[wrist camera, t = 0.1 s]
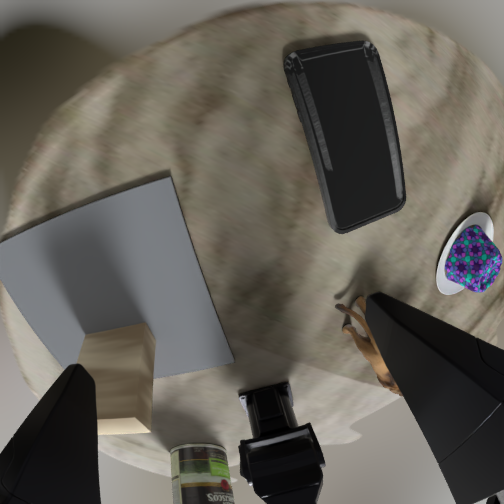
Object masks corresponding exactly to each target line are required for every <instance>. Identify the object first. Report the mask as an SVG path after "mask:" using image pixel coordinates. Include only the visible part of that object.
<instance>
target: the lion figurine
mask: <svg viewBox="0 0 504 504" xmlns="http://www.w3.org/2000/svg"><path fill="white" fill-rule="evenodd" d="M355 304H356V306H357V307H360V309H361V310H362V312H363V313H364V314H365V309H366V303H365V299H364V298H363V297H362V296H360V297H358V298H357V299H356V300H355ZM335 308H336V309H338V310H340V311H341V312H343V313H347V314H349V315H351V316H352V317H354V318H355V319H356V320H357V321H358V322H359V323H360V324H361V325H362V327H363V328H364V329H365V331H366V332H367V334H368V336H369V337H370V339H371V340H370V339H368V338H365V337H363V336H361V335H360V334H358V333H357V331H356V328H355V327H353V326H351V324H348V325H345V326H344V327H343V333H346V334H348V333H350V334H351V335H352V337H353V339H354V341H355V343H356V345H357V347H358V349H359V350H360V351H361V352H362V353H363V355H364V357H365V358H366V359H367V360H368V361H369V362H370V363H371V365H372V367H373V369H374V371H375V372H376V374H377V378H378V380H379V382H380V383H381V384H382V385H383V387H385V388H388V389H389V390H390V391H392V392H393V393H395V394H399V396H403V395H402V393H401V391H400V390H399V388H398V386H397V384H396V382H395V381H394V379H393V377H392V375H391V374H390V372H389V370H388V368H387V367H386V365H385V363H384V361H383V359H382V356H381V354H380V352H379V350H378V347H377V345H376V343H375V340H374V338H373V336H372V334H371V332H370V329H369V327H368V325H367V323H366V321H365V320H364V319H363V318H362V317H361V316H360V315H358V314H357V313H356V312H354V311H352V310H350V309H348V308H347V307H345V306H344V305H343V304H336V305H335Z"/></svg>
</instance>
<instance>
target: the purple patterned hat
mask: <svg viewBox="0 0 504 504" xmlns="http://www.w3.org/2000/svg"><path fill="white" fill-rule="evenodd" d="M475 224H476V225H475ZM470 225H475V226H474V227H473V228H470V227H468V226H470ZM478 225H479V226H480V227H481V228H482V229H481V228H480V227H479V226H478ZM467 227H468V228H467ZM465 228H466V229H465ZM464 229H465V230H464ZM463 230H464V231H463ZM462 231H463V232H462ZM461 232H462V234H461V236H460V238H458V239H457V240H455V239H456V238H457V237H458V235H459V234H460V233H461ZM454 241H455V242H454ZM453 242H454V243H453ZM451 246H452V247H451ZM450 248H451V249H450ZM449 250H450V256H449V257H448V259H447V260H446V257H447V254H448V252H449ZM445 261H446V264H445ZM501 264H502V256H501V254H500V251H499V249H498V248H497V247H496V246H495V244H494V243H493V223H492V220H491V218H490V217H489V215H487V214H486V213H483V212H477V213H475V214H472V215H471V216H469V217H468V218H466V219H465V220H464V221H463V222H462V223H461V224H460V225H459V226H458V227H457V229H456V230H455V231H454V233H453V234H452V236H451V237H450V239H449V241H448V242H447V244H446V246H445V248H444V250H443V253H442V255H441V258H440V261H439V264H438V269H437V276H436V281H437V286H438V289H439V290H440V292H442V293H443V294H446V295H451V294H455V293H457V292H459V291H461V290H462V289H464V288H467V289H469V290H471V291H474V292H484V291H485V290H486V289H487V288H488V287H489V286H491V285H492V284H493V282H494V280H495V278H496V277H497V275H498V274H499V271H500V266H501ZM444 267H445V269H446V270H447V271H448V272H447V278H446V277H445V272H444ZM447 279H449V280H451V281H449V280H447ZM452 281H453V282H452Z"/></svg>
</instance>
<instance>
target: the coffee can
mask: <svg viewBox="0 0 504 504" xmlns="http://www.w3.org/2000/svg"><path fill="white" fill-rule="evenodd" d="M226 453H227V452H226V450H225V449H224V448H223V447H221V446H218V445H213V444H205V443H192V444H183V445H179V446H176V447H174V448H172V449H171V451H170V454H171V474H172V489H173V503H174V504H235V502H234V497H233V492H232V486H231V480H230V474H229V468H228V462H227V455H226Z"/></svg>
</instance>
